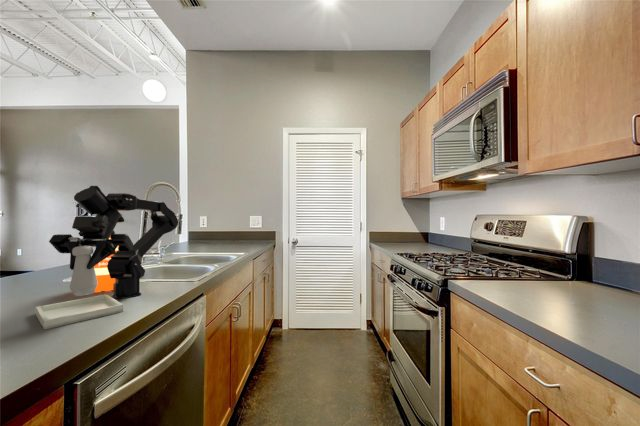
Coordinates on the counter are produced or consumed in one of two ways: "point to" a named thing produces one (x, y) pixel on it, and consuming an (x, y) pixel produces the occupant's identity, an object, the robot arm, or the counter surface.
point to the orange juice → (104, 275)
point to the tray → (77, 310)
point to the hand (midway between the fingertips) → (79, 268)
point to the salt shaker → (83, 272)
